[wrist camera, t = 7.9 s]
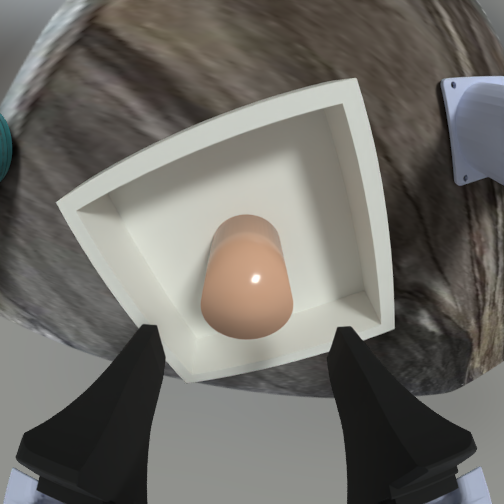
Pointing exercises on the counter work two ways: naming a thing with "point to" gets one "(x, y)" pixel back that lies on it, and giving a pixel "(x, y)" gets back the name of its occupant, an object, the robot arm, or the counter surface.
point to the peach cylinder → (246, 280)
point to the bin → (253, 203)
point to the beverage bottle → (5, 147)
